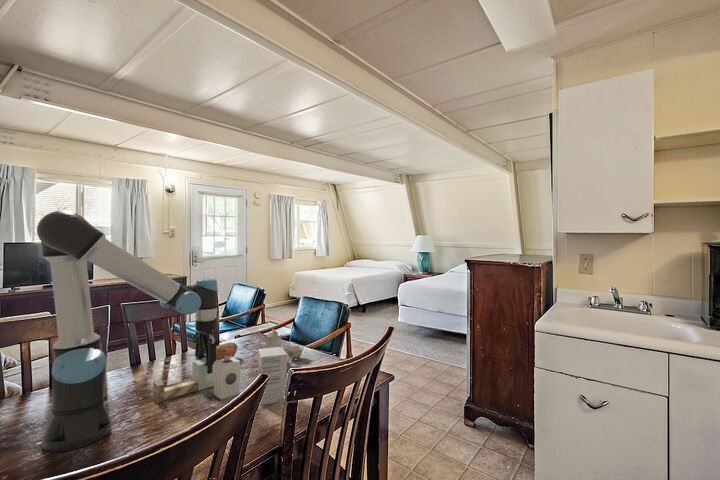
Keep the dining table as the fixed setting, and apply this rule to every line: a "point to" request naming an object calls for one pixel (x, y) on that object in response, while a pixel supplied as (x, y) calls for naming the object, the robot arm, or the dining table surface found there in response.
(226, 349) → the button
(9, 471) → the dining table surface
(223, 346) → the potato
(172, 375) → the dining table surface
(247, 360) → the dining table surface
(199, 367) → the block
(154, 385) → the rail
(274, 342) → the chinaware
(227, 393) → the white tall block
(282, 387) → the supplement box
